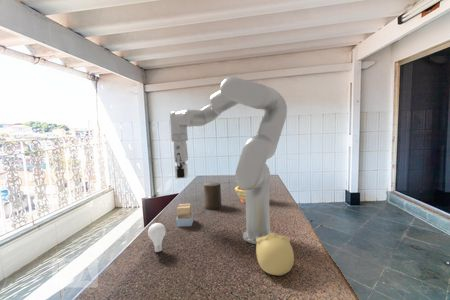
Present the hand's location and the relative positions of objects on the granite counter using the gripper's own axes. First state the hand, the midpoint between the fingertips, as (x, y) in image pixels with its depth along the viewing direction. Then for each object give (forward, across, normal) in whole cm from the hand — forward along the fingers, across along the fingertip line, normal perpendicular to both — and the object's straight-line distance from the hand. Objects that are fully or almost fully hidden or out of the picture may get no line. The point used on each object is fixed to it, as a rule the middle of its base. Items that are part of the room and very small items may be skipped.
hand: (181, 175), depth 110 cm
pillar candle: (+24, +22, -13) cm, 35 cm away
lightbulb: (+24, -25, +6) cm, 35 cm away
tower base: (+24, 0, 0) cm, 24 cm away
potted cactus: (+24, +30, -34) cm, 51 cm away
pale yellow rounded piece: (+24, -39, -35) cm, 57 cm away
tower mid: (+20, 0, 0) cm, 20 cm away
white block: (+1, 0, 0) cm, 1 cm away
